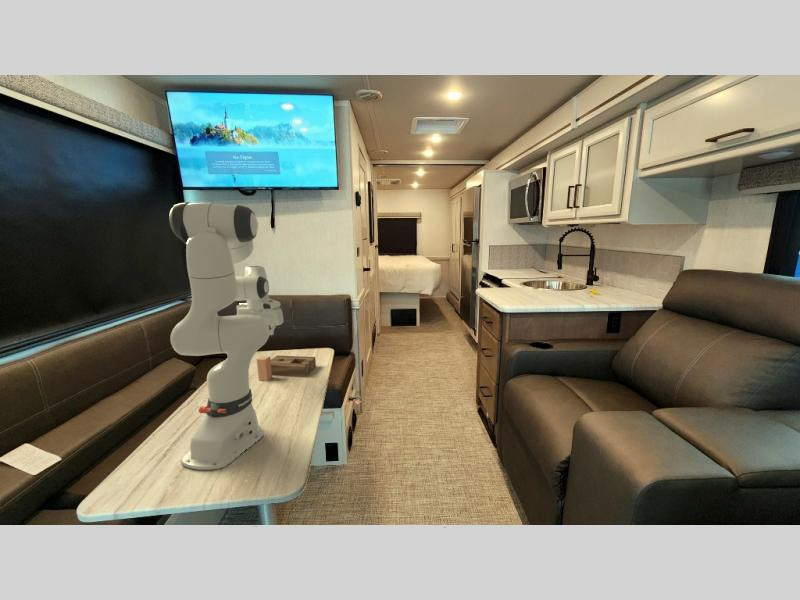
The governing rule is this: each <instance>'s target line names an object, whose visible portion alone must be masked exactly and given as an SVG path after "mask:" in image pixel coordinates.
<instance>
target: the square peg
mask: <svg viewBox="0 0 800 600" xmlns="http://www.w3.org/2000/svg"><path fill="white" fill-rule="evenodd" d="M256 365H257V375H258V381H259V382H262V381H263V382H268V381H269V380H270V379H272V378H273V375H272V370H271V356H269V355H266V356H265V355H262V356H260V357H258V358H256Z"/></svg>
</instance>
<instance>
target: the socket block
mask: <svg viewBox="0 0 800 600" xmlns="http://www.w3.org/2000/svg"><path fill="white" fill-rule="evenodd" d="M270 360H271V370H272V376H278V377H279V376H280V377H295V378H296V377H299V378H306V377H307V376H308V375H309V374H310V373H311V372H312V371H313V370H314V369H316V367H317V364H316V356H299V355H280V354H279V355H276V356H274V357H273V358H270Z"/></svg>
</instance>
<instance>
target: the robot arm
mask: <svg viewBox="0 0 800 600" xmlns="http://www.w3.org/2000/svg"><path fill="white" fill-rule="evenodd" d="M168 216H169V217H168V219H169V221H168V222H169V226H170V228H171V230H172V232H173V234H174V235H175V236H176V237H177V239H179V240H180V241H182V242H183V244H184V245H185V246H186V248H185V252H186V253H185V257H186V269H187V275H188V279H189V284H190V285H189V287H190V292H191V304H190V309H189V311H188V313H187V314H186V315H185V316H184V318H183V319H182V320H180V321H179V322H178V323H177V324H175V326H174V328H172V331H171V333H170V344H171V347H172V349H173V350H174V351H175V352H176V353H177V354H178V355H180V356H193V357H194V356H195V357H198V356H199V357H200V356H209V355H216V354H227V355H226V356H227V358H226V359H225V360H223V361H220V362H219V363H218V364H216V365H214V366H213V367H212V368H210V370H209V371H208V373H207V376H206V385H207V390H208V391H207V393H208V398H207V402H206V403H207V405H206V406H205V405H200V406H199V407H198V413H199V414H204V415H205V416H204V418H202V420H201V422H200V424H199V425H198V427H197V428H196V431H195V432H194V433H193V434H192V436H191V439H190V442H189V443H190V444H189V449H190V450H188V452H187V453H186V454H185V455H184V456H183V457H182V458H181V459H180V460H181V461H180V462H181V464H182V466H184V467H186V468H188V469H193V470H200V471H206V470H207V471H208V470H209V471H210V470H217V469H222V468H225V467H227V466H228V465H229V464H230V463H232V462H233V461H235V460H236V459H237V458H239V457H240V456H241V455H242V454H243V453H245V452H246V451H247V450H248V449H250V448H251V447H252V446H253V445H255V444H256V443H257V442H258V440H259V439H260V438H261V437H262V436H263V437H264V435H263V432H262V431H261V429H260V428H261V427H260V426H259V420H258V417H257V412H256V410H255V408H254V406H253V404H252V402H253V394H252V390H251V388H250V384H249V383H250V381H249V380H250V378H249V375H250V374H249V371H250V370H249V369H250V364H251V361H252V359H253V358H254V356H255V354H256V353H257V352H258V350H260V348H262V347H263V346H265V344H266V343H267V341H268V340H269V337H270V336H274V335H275V332H274V331H275V330H276V329H275V328H276V327H277V326H280V325H282V324H283V323H284V315H283V314H284V313H283V310H282V308H281V301H278V300H275V299H272V298H270V295H269V292H270V285H269V280H268V276H267V272H266V269H265V267H263V266H260V265H251V266H246V267H245V268H244V275H242V276H241V275H237V276H236V273H235V268H234V267H235V265H234V264H237V263H240V262H243V261H245V260H246V259H248V258H249V257H250V256H251V255H252V253H253V251H254V239H255V238H256V236H257V234H258V231H259V230H258V228H259V225H258V224H259V223H258V218H257V216H256V214H255V211H254V210H253V209H251V208H250V207H248V206H245V205H240V204H238V205H232V204H225V203H215V202H207V201H206V202H190V201H189V202H179V203H177V204H174V205H173V207H172V208H171V209H170V211H169V215H168ZM236 301H237V302H238V301H239V302H240V301H246V302H244V303H242V302H241V303H239V304H237V305H236V314H235V315H225V316H224V315H223V316H222V315H219V314H218V312H220V311H221V310H223V309H225V308H227V307H228V306H231V305H232V304H233V303H234V302H236ZM263 437H262V438H263ZM262 438H261V439H262ZM261 439H260V440H261ZM260 440H259V441H260ZM255 442H256V443H255ZM254 443H255V444H254ZM249 447H250V448H249ZM246 449H247V450H246ZM245 450H246V451H245ZM244 451H245V452H244ZM242 452H243V453H242ZM241 453H242V454H241ZM240 454H241V455H240ZM235 458H236V459H235Z"/></svg>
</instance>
